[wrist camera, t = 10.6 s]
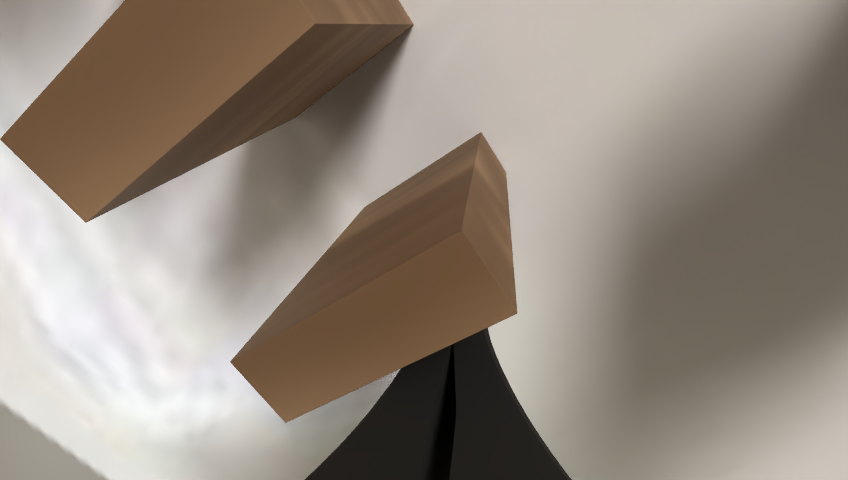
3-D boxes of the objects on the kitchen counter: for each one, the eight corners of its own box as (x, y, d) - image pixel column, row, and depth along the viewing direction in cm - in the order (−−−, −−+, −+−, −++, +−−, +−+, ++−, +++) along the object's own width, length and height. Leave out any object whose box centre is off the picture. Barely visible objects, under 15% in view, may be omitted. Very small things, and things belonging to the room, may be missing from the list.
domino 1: (413, 24, 13) (315, 23, 5) (295, 117, 15) (85, 222, 7) (382, -26, 13) (222, -108, 5) (263, 75, 15) (0, 139, 7)
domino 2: (506, 172, 15) (517, 313, 7) (389, 241, 17) (285, 422, 8) (481, 132, 15) (461, 230, 6) (364, 207, 16) (230, 361, 8)
